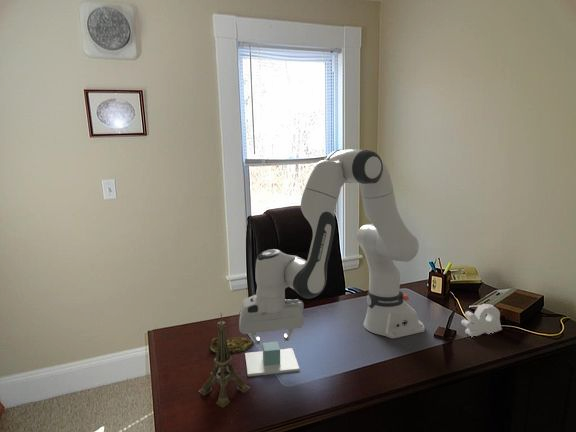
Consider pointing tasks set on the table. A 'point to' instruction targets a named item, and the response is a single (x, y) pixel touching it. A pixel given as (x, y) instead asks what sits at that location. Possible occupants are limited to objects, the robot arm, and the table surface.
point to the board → (258, 368)
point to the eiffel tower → (223, 370)
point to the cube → (271, 353)
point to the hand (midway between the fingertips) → (272, 342)
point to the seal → (233, 344)
